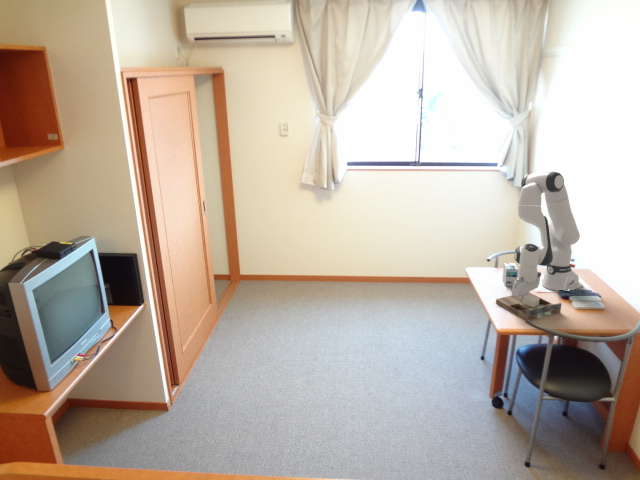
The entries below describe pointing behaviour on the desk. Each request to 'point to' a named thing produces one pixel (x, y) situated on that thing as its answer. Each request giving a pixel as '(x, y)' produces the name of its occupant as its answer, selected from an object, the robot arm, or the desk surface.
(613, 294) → the desk surface
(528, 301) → the block
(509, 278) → the light bulb box
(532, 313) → the board
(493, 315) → the desk surface
